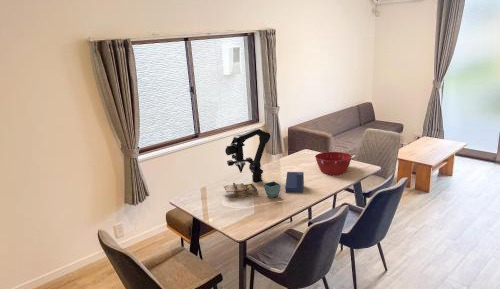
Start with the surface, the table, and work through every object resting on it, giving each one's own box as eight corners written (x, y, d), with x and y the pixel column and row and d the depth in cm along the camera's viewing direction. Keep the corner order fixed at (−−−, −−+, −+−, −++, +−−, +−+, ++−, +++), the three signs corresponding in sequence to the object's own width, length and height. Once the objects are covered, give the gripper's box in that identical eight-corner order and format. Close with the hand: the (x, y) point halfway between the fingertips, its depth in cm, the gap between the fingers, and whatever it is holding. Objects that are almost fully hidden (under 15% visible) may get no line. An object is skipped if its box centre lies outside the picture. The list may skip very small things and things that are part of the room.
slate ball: (253, 191, 263) (253, 186, 262) (255, 193, 259) (254, 188, 259) (248, 192, 262) (248, 187, 261) (249, 194, 259) (249, 189, 258)
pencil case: (253, 189, 271) (252, 183, 270) (257, 194, 258) (257, 189, 257) (233, 191, 267) (232, 186, 266) (237, 198, 255) (236, 192, 254)
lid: (243, 184, 268) (242, 180, 267) (247, 189, 256) (246, 186, 255) (223, 186, 264) (223, 183, 264) (226, 192, 252) (226, 188, 252)
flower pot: (270, 199, 248) (269, 187, 246) (263, 195, 256) (263, 183, 254) (281, 196, 252) (280, 184, 250) (274, 193, 260) (274, 181, 258)
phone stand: (285, 193, 259) (284, 177, 256) (287, 187, 270) (287, 171, 267) (302, 193, 256) (302, 177, 253) (303, 187, 267) (303, 172, 264)
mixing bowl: (327, 167, 312) (327, 149, 309) (358, 172, 292) (358, 154, 289) (308, 175, 293) (308, 157, 289) (340, 182, 273) (339, 162, 269)
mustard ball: (251, 189, 268) (251, 184, 267) (253, 191, 265) (252, 185, 264) (246, 190, 267) (246, 184, 267) (247, 191, 264) (247, 186, 263)
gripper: (248, 148, 279) (249, 167, 283) (224, 151, 274) (226, 171, 278) (252, 151, 269) (253, 171, 272) (227, 155, 264) (229, 175, 268)
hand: (240, 172), depth 273 cm, fingers closed
